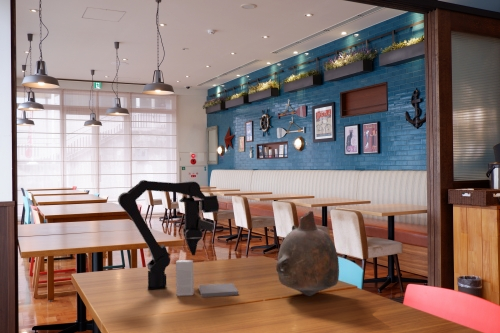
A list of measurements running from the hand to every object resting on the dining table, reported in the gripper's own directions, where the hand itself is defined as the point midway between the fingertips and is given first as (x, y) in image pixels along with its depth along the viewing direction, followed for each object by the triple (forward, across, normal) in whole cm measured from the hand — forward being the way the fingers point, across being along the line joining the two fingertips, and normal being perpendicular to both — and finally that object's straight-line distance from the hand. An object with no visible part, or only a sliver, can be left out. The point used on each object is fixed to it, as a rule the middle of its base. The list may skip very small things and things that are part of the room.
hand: (192, 253), depth 193 cm
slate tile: (+12, -14, -8) cm, 20 cm away
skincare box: (+12, -15, +4) cm, 20 cm away
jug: (+12, -28, -38) cm, 49 cm away
